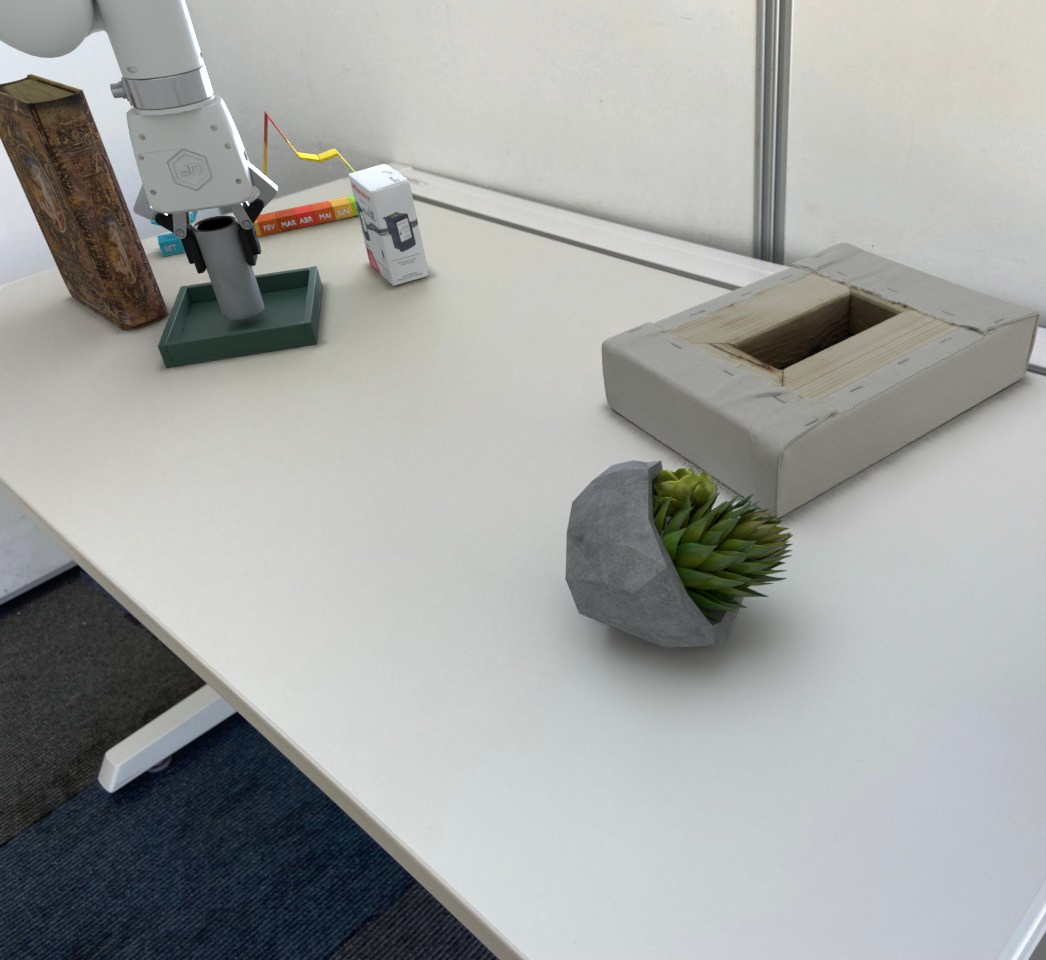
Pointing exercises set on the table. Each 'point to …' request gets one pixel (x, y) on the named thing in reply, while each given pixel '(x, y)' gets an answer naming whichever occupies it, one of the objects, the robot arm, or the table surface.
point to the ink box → (389, 223)
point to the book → (78, 200)
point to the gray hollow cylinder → (228, 267)
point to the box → (815, 371)
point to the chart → (282, 218)
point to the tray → (243, 320)
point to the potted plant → (667, 554)
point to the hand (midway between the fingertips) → (228, 263)
